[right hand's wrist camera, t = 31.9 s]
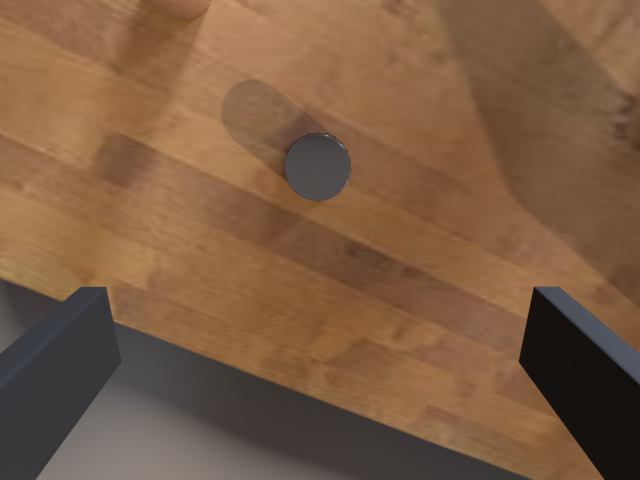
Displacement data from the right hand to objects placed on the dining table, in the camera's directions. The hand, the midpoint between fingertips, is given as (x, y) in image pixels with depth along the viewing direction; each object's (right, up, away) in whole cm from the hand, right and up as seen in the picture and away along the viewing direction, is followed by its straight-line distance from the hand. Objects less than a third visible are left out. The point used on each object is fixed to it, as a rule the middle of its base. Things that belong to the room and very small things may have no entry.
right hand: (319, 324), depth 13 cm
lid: (0, +9, +26) cm, 27 cm away
